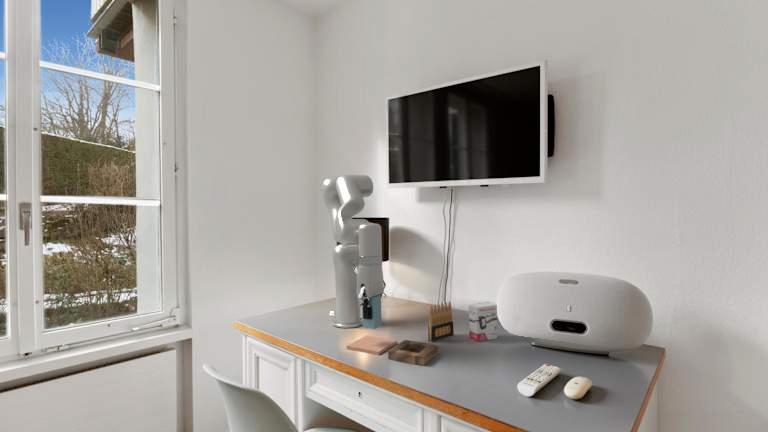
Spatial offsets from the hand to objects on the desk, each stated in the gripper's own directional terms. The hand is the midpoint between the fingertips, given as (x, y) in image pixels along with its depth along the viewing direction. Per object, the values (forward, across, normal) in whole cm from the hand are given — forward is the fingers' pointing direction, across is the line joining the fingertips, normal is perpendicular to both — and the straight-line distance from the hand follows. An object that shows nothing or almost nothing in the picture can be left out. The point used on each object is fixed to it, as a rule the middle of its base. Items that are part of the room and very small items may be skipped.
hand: (371, 316), depth 131 cm
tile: (+10, 0, 0) cm, 10 cm away
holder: (+10, +2, +16) cm, 19 cm away
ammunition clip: (+10, -18, +17) cm, 27 cm away
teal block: (+3, 0, 0) cm, 3 cm away
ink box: (+10, -24, +30) cm, 40 cm away
